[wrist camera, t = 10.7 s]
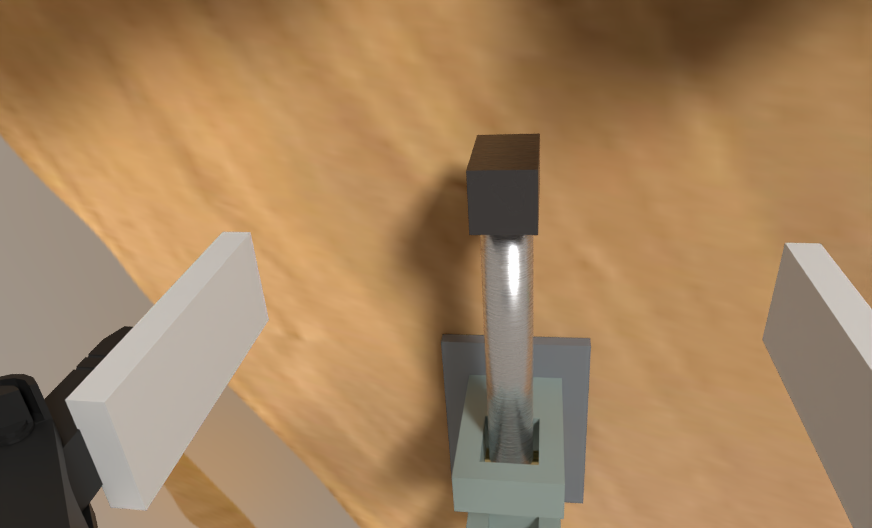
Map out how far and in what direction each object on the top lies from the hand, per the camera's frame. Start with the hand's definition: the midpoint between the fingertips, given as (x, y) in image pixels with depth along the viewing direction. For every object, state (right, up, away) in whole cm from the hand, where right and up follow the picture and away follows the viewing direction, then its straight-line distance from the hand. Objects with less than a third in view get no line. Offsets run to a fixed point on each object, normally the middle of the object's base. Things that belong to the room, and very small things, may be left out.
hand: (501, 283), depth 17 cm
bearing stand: (+5, -12, +37) cm, 39 cm away
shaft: (+3, -1, +27) cm, 27 cm away
